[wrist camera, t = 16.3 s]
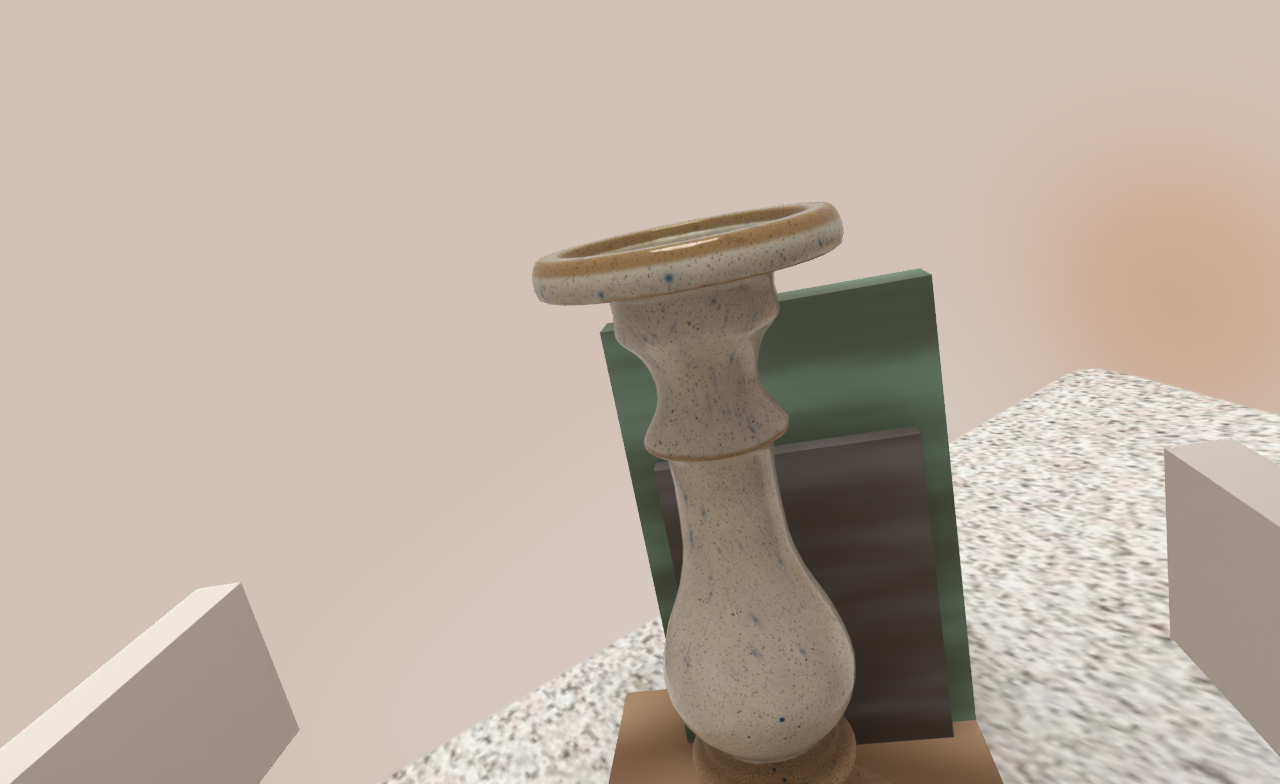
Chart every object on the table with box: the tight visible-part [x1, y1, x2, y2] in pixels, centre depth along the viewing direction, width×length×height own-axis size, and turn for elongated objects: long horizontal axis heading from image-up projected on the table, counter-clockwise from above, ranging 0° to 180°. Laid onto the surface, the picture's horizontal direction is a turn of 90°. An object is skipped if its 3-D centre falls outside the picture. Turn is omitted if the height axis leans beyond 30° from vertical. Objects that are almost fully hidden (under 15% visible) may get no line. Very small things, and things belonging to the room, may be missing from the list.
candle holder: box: [532, 202, 891, 784], centre depth 21 cm, size 9×9×20 cm
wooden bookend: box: [600, 269, 1003, 784], centre depth 20 cm, size 25×14×18 cm, turn 174°
